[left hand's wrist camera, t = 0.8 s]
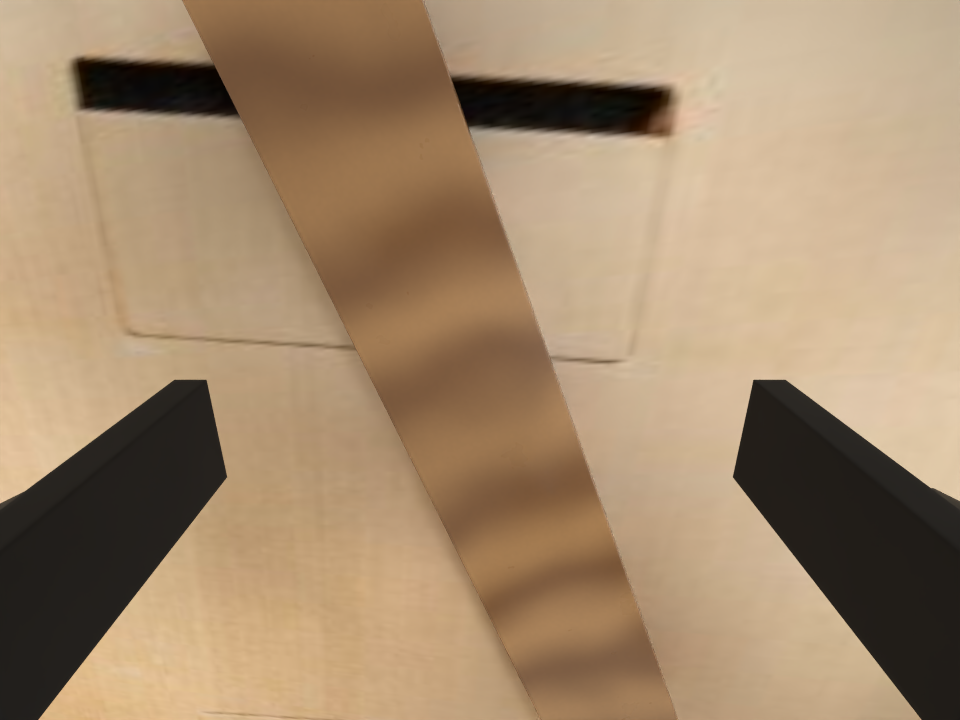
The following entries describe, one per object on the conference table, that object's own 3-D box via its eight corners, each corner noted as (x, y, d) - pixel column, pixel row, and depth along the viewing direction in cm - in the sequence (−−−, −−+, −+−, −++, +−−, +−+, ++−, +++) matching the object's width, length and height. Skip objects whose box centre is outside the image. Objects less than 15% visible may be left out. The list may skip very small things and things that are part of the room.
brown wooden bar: (243, 10, 27) (162, -39, 20) (400, -65, 25) (371, -144, 19) (567, 707, 46) (582, 804, 39) (665, 683, 45) (698, 778, 38)
